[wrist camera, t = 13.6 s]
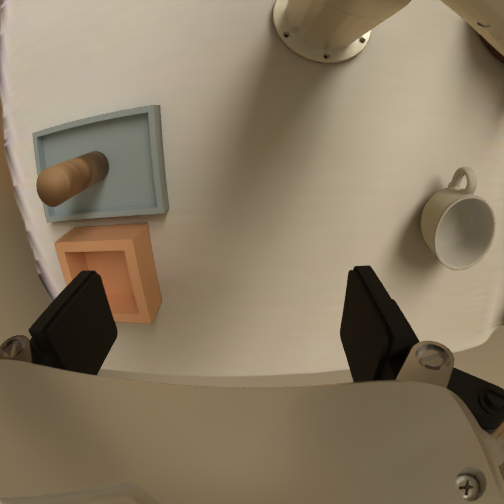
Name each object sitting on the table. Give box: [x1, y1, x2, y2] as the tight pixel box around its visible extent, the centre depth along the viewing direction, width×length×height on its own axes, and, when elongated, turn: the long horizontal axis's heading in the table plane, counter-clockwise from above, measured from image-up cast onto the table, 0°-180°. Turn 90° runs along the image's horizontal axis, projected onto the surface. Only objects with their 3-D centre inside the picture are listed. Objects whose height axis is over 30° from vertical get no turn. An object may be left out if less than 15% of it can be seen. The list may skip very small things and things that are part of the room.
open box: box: [54, 223, 162, 323], centre depth 42 cm, size 13×13×6 cm
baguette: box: [37, 151, 109, 207], centre depth 32 cm, size 4×4×11 cm
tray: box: [33, 105, 169, 223], centre depth 37 cm, size 14×20×2 cm
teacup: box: [421, 167, 496, 270], centre depth 36 cm, size 14×11×8 cm
